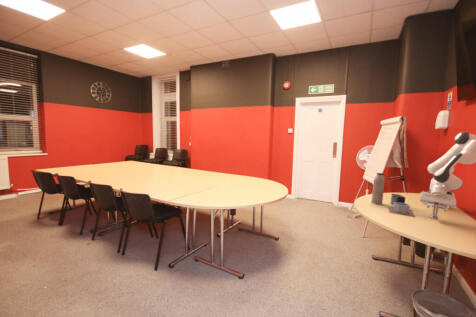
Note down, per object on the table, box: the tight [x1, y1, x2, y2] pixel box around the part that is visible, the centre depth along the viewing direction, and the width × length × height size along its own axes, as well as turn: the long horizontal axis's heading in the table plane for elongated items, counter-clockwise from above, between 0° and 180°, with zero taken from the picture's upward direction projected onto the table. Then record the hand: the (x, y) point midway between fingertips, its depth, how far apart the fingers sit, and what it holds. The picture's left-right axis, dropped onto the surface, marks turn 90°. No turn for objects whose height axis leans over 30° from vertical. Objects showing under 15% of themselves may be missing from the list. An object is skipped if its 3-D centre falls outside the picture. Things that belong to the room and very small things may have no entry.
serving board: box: [387, 205, 416, 218], centre depth 176 cm, size 20×16×2 cm
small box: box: [390, 193, 406, 207], centre depth 190 cm, size 11×6×10 cm, turn 168°
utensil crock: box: [392, 202, 411, 214], centre depth 175 cm, size 10×10×6 cm
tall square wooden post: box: [430, 202, 439, 220], centre depth 163 cm, size 4×4×13 cm
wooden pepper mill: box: [371, 172, 386, 206], centre depth 194 cm, size 8×8×28 cm
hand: (436, 209), depth 163 cm, fingers open, 8 cm apart
